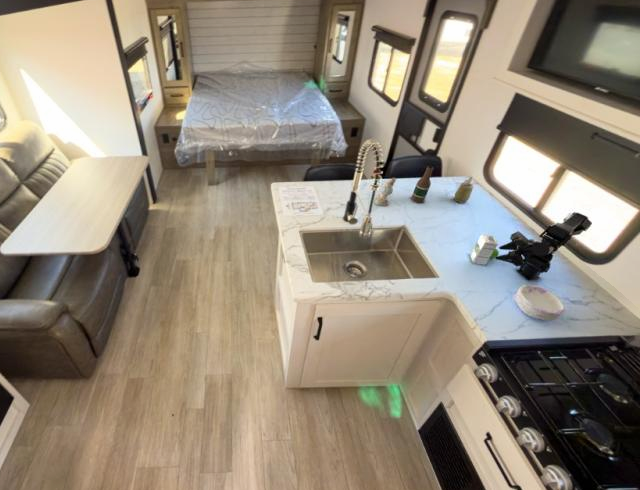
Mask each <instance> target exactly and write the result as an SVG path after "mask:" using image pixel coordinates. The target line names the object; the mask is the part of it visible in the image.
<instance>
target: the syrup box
mask: <svg viewBox="0 0 640 490" xmlns="http://www.w3.org/2000/svg"><path fill="white" fill-rule="evenodd" d="M498 245H499V243H498V242H497V240H496V238H495V236H493V235H488V234H481V235H480V236H479V238H478V240H477V242H476V244H475V245H474V247H473V249H472V250H471V252H470V254H469V257H470V259H471V261H472V263H473V264H476V265H477V264H478V265H484V266H485V265H486V264H487V263H488V261H489V259H490V256H491V255H492V253H493V251H494V250H495V249H497V247H498Z"/></svg>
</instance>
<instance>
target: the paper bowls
mask: <svg viewBox="0 0 640 490" xmlns="http://www.w3.org/2000/svg"><path fill="white" fill-rule="evenodd" d="M513 297H514V301H515V303H516V304H517V305H518V308H519V309H520V310H521V311H522V312H523V313H524V314H526V315H527V316H529V317H531V318H534V319H535V320H536V319H537V320H543V321H550V322H551V321H555V320H557V319H558V318H559V317H560V316H562V315H563V314H564V312H565V311H566V307H565V304H564V302H563V301H562V300H561V298H560V297H559V296H557V295H556V294H555V293H554V292H552V291H550V290H549V289H547V288H545V287H542V286H538V285H535V284H523V285H521V286H520V287H519V288H518V289H517V290H516V292H515V293H514V295H513Z"/></svg>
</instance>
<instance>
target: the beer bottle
mask: <svg viewBox="0 0 640 490" xmlns="http://www.w3.org/2000/svg"><path fill="white" fill-rule="evenodd" d="M425 168H426V170H425V172H424V173H423V176H422V177H421V178H419V179H418V180H417V182H416V185H415V187H414V190H413V192H412V195H411V201H412V202H414V203H416V204H423V203H424V201H425V200H426V197H427V195H428V192H429V189H430V188H431V183H432V182H431V176H432V173H433V171H434V167H433V166H429V165H427V166H426V167H425Z"/></svg>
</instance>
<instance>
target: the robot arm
mask: <svg viewBox="0 0 640 490" xmlns="http://www.w3.org/2000/svg"><path fill="white" fill-rule="evenodd" d="M591 226H592V221H591V220H589V217H588V215H585V214H582V213H580V212H577V211H574V212H569V213H568V214H567V215H566V217H564V218H563V221H562V222H555V223H553V224H550V225H549V226H547V228H545V229H544V231H542V233H540V234H539V236H538V237H539V238H541V240H540V239H539V240H535V239H532V238H531V239H528V238H527V237H526V235H524V234H523V233H522V232H521V231H515V232H514V233H512V234H510V238H509V239H510V240H511V241H510V242H508V243H505V244H503V245H500V246H499V247H498V249H499V250H505V251H508V252H507V253H505V254H501V255H498V256H497V257H495V258H494V259H496V260H497V261H502V262H505V263H510V264H512V265H514V266H515V267H519V268H517V269H516V272H517V273H518V274H520V275H521V276H522V277H523V278H525V279H526V280H527V281H533V280H538V279H540V278H541V277H540V275H541V274H544V273H548V271H549V270H550V269H551V265H552V263H551V261H552V260H553V258H554V254H555V253H556V252H558V250H559V249H560V248H561V247H565V246H566V245H567V244H568V243H569V242H570V241H571V240H572V238H573V236H579V235H581V234H582V233H583V232H587V231H588V230H589V229H590V228H591Z"/></svg>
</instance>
